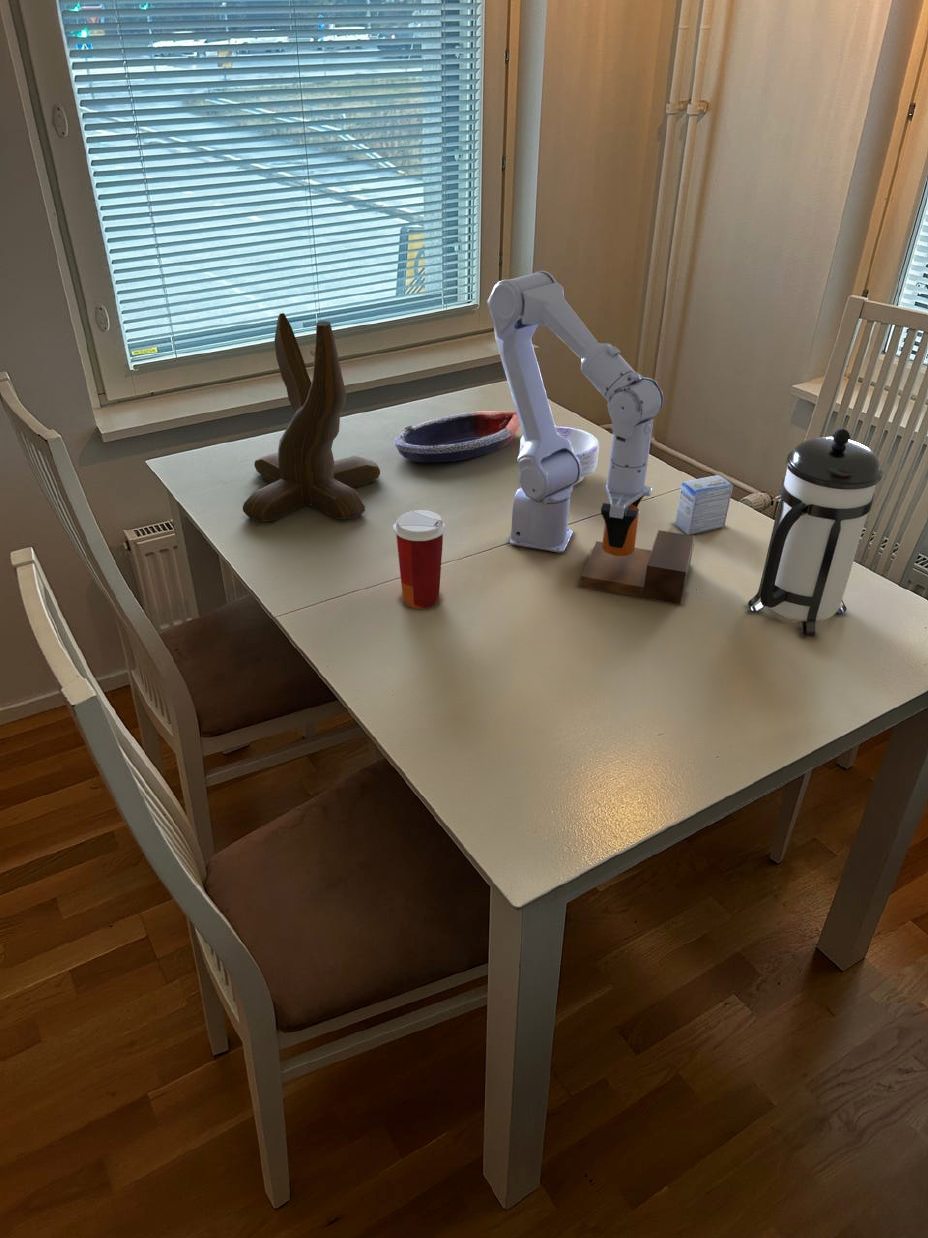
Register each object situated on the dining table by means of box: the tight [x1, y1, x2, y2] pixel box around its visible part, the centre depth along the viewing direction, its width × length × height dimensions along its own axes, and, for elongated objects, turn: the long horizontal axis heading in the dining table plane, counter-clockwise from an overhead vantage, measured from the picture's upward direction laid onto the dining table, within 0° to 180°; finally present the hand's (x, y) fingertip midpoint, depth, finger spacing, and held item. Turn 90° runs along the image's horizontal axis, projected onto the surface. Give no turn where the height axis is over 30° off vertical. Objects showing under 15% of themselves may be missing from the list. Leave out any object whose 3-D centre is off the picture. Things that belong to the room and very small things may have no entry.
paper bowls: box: [519, 426, 600, 486], centre depth 178 cm, size 15×15×8 cm
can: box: [601, 504, 640, 556], centre depth 147 cm, size 5×5×7 cm
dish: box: [394, 410, 521, 463], centre depth 190 cm, size 16×31×5 cm, turn 121°
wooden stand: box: [242, 312, 381, 523], centre depth 164 cm, size 29×29×35 cm
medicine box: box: [674, 474, 734, 535], centre depth 162 cm, size 8×4×9 cm, turn 113°
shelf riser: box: [579, 529, 696, 605], centre depth 149 cm, size 16×12×6 cm
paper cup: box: [392, 509, 446, 610], centre depth 140 cm, size 8×8×14 cm
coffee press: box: [747, 428, 884, 638], centre depth 133 cm, size 17×16×30 cm
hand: (619, 537), depth 147 cm, fingers closed on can, 5 cm apart
